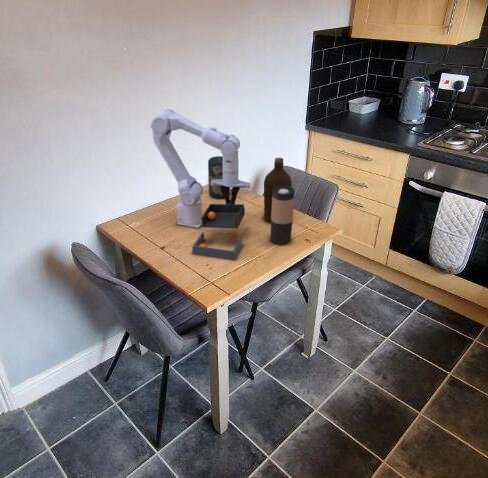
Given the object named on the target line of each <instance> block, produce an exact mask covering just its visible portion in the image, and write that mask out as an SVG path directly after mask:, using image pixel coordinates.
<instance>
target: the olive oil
mask: <svg viewBox="0 0 488 478" xmlns="http://www.w3.org/2000/svg"><path fill="white" fill-rule="evenodd" d="M283 186H289V187H292V186H293V181H292V178H291V175H290V174H289V173H288V172H287V170H285V169H284V158H283V157H275V158H274V165H273V168H272V169H271V170H270V171H269V172H268V173H267V174H266V176H265V178H264V180H263V219H264V221H265V222H267V223H269V224H271V211H272V195H273V188H274V187H283ZM292 188H293V187H292Z"/></svg>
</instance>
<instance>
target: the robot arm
mask: <svg viewBox="0 0 488 478" xmlns="http://www.w3.org/2000/svg"><path fill="white" fill-rule="evenodd" d="M150 128H151V130H152V139H153V143H154V144H155V146H156V148H157V150H158V152H159V154H160V155H161V156H162V158H163V160H164V162H165V163H166V165H167V167H168V169H169V171H170V172H171V174H172V176H173V177H174V179H175V180H176V182H177V191H178V193H179V196H180V199H179V201H178V202H177V205H176V217H177V222H176V225H179V226H185V227H190V228H197V229H199V228H200V227H201V226H203V225H202V220H201V217H202V216H203V202H202V201H203V200H202V198H201V196H202V195H203V193H204V187H203V185H202V184H201V183H200V182H199V181H197V179H196V177H194V176H192V175H190V172H189V171H188V169H187V167H186V166H185V164H184V162H183V161H182V159H181V157H180V155H179V153H178V152H177V150H176V148H175V147H174V145H173V143H172V141H171V139H170V138H171V135H172V132H173V131H178V130H182V131H185V132H187V133H189V134H192V135H195V136H197V137H199V138H201V140H202V142H203V143H204V144H206V145H209V146H210V147H213V148H215V149H217V150H219V151H220V153H221V154H222V156H223V179H212V180H211V186H214V185H217V186H221V188H220V191H221V192H222V194H223V196H224V197H223V198H224V201H225V204H228V202H229V200H230V199H231V198H230V194H229V191H230V193H231V197H232V204H236V200H237V196H238V194H239V191H240V190H241V189H245V190H250V189H251V182H249V181H244V180H240V179H239V149H240V147H241V141H240V139H239V138H238V137H237V136H236V135H234V134H228V133H224V132H222V131H219V130H217V128H216V127H215V126H213V127H212V126H211V127H210V126H209V127H206V128H205V127H203V126H201V125H200V124H198V123H196V122H195V121H192V120H190V119H188V118H187V117H185V116H183V115H182V114H181V113H180V112H177V111H174V110H173V109H165V110H164V111H162V112H161V113H159V114H158V115H155V116H154V117H153V118H152V121H151V123H150Z"/></svg>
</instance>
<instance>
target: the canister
mask: <svg viewBox="0 0 488 478" xmlns="http://www.w3.org/2000/svg"><path fill="white" fill-rule="evenodd" d="M207 176H208V177H207V178H208V179H207V182H208V194H209V196H210V197H212V198H217V199H223V198H224V196H223V194H222V192H221V191H220V188H221V186H217V185H214V186H211V180H212V179H223V155H216V156H212V157H209V159H208V161H207ZM230 193H231V190H230V191H229V195H230Z"/></svg>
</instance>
